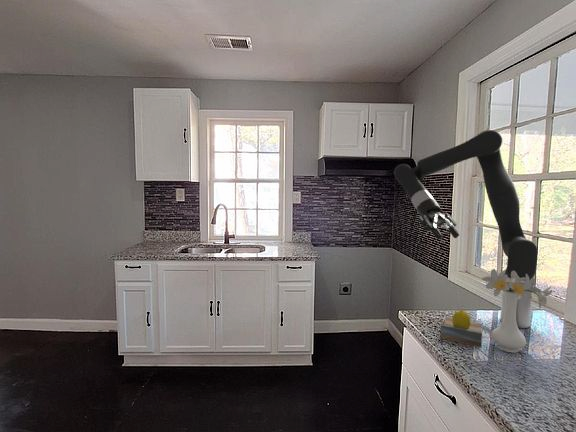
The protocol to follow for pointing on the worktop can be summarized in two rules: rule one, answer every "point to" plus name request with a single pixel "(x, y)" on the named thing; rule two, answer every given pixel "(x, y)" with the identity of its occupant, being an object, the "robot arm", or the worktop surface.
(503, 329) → the flower vase
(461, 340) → the stop board
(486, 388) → the worktop surface
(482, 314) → the worktop surface
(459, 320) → the lemon
